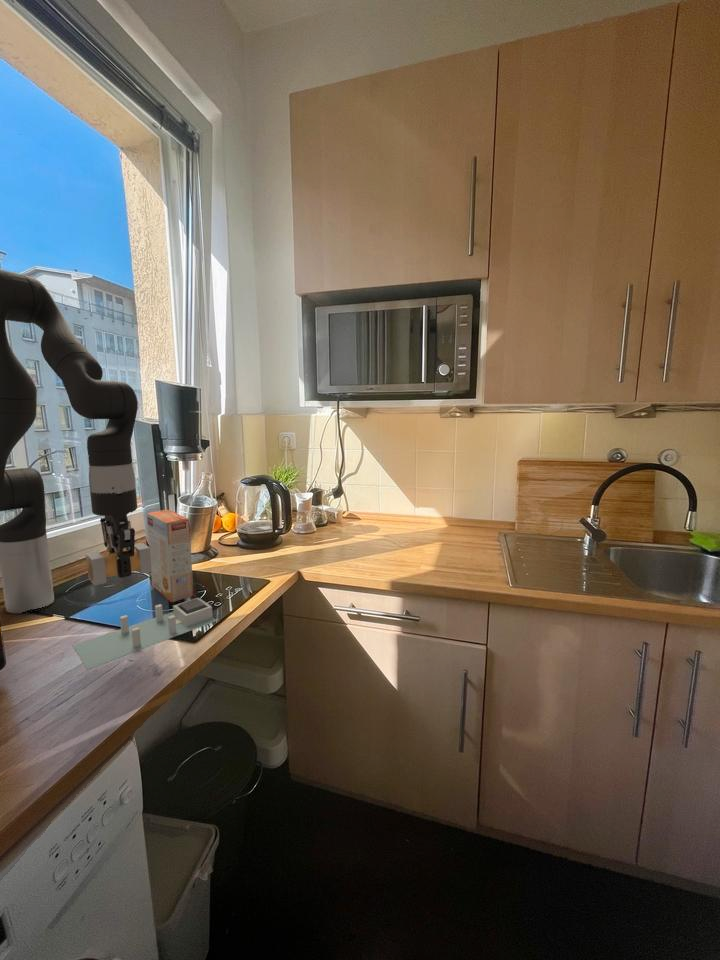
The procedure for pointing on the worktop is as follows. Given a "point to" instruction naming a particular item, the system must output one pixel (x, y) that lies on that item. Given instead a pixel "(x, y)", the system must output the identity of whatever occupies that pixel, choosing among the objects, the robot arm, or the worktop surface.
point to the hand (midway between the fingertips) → (121, 572)
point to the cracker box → (170, 554)
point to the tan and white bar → (107, 564)
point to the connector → (192, 606)
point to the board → (141, 634)
